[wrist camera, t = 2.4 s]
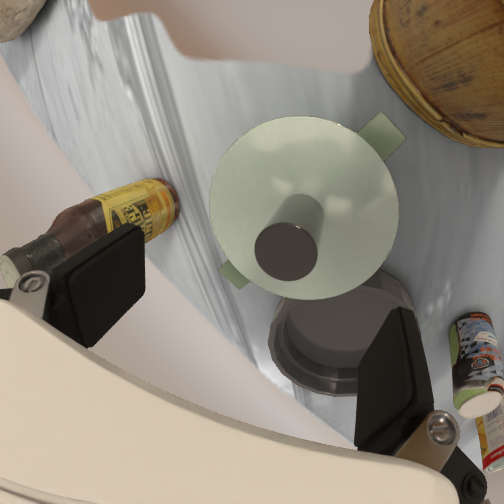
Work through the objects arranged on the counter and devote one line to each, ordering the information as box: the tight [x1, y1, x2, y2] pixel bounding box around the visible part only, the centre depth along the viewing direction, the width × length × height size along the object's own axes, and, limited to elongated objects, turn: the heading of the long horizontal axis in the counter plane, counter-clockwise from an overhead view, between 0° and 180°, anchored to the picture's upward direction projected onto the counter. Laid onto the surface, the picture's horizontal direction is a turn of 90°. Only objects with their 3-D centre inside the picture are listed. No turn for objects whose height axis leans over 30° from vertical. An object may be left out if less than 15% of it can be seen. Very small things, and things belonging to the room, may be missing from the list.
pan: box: [268, 269, 421, 397], centre depth 29 cm, size 16×16×4 cm
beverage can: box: [449, 312, 504, 418], centre depth 21 cm, size 6×7×12 cm
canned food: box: [476, 397, 504, 474], centre depth 25 cm, size 8×8×12 cm
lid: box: [209, 116, 399, 300], centre depth 16 cm, size 13×13×7 cm
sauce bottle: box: [0, 178, 179, 288], centre depth 23 cm, size 7×6×20 cm
